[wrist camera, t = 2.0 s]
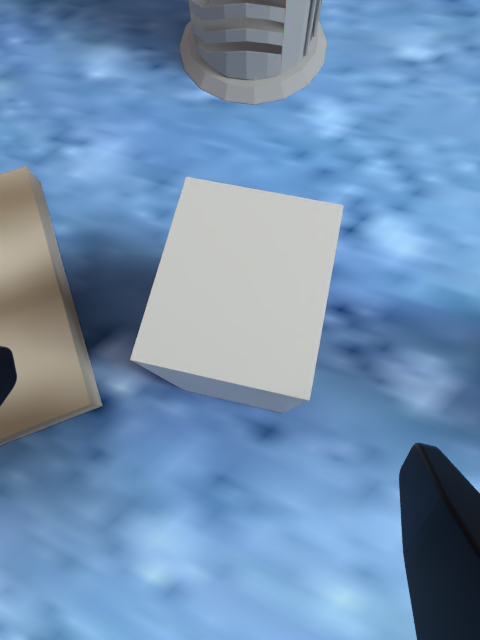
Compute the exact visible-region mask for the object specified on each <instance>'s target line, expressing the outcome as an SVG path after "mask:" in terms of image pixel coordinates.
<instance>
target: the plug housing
mask: <svg viewBox="0 0 480 640" xmlns="http://www.w3.org/2000/svg"><path fill="white" fill-rule="evenodd" d="M343 206H344V205H339V204H334V203H328V202H323V201H317V200H311V199H306V198H300V197H295V196H289V195H284V194H278V193H273V192H267V191H262V190H256V189H251V188H245V187H240V186H234V185H229V184H223V183H218V182H212V181H207V180H201V179H196V178H190V177H186V179H185V183H184V186H183V189H182V192H181V196H180V199H179V202H178V205H177V209H176V212H175V215H174V218H173V222H172V225H171V228H170V231H169V235H168V238H167V241H166V244H165V248H164V251H163V254H162V257H161V261H160V264H159V267H158V270H157V274H156V277H155V280H154V283H153V287H152V290H151V293H150V296H149V300H148V303H147V306H146V309H145V313H144V316H143V319H142V322H141V326H140V329H139V332H138V335H137V339H136V342H135V345H134V348H133V352H132V355H131V358H130V360H131V361H133V362H135V363H137V364H138V365H140V366H142V367H144V368H145V369H147V370H149V371H151V372H153V373H154V374H156V375H158V376H160V377H161V378H163V379H165V380H167V381H168V382H170V383H172V384H174V385H176V386H177V387H179V388H181V389H183V390H184V391H189V392H193V393H197V394H202V395H206V396H210V397H215V398H219V399H223V400H228V401H232V402H236V403H241V404H245V405H249V406H254V407H258V408H262V409H267V410H271V411H275V412H280V413H283V412H285V411H288V410H290V409H292V408H294V407H296V406H299V405H301V404H303V403H305V402H307V401H309V400H310V395H311V389H312V383H313V378H314V372H315V366H316V360H317V355H318V349H319V343H320V338H321V332H322V326H323V321H324V315H325V309H326V303H327V298H328V292H329V286H330V281H331V275H332V269H333V263H334V258H335V252H336V246H337V241H338V235H339V229H340V223H341V218H342V212H343Z"/></svg>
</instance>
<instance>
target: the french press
mask: <svg viewBox="0 0 480 640" xmlns="http://www.w3.org/2000/svg"><path fill="white" fill-rule="evenodd" d="M188 3H189V10H190V17H191V20H190V22H189V23H188V24H187V25H186V26H185V30H184V33H183V36H182V40H181V43H180V47H179V49H180V53H181V58H182V63H183V67H184V70H185V71H186V72H187V74H188V75H189V76H190V77H191V78H192V79H193V81H194V82H195V83H196V84H197V85H198V87H199V88H200V89H202V90H204V91H206V92H208V93H210V94H212V95H214V96H216V97H218V98H220V99H222V100H224V101H230V102H238V103H246V104H254V105H255V104H260V103H265V102H271V101H276V100H281V99H285V98H287V97H288V96H290V95H292V94H293V93H295V92H297V91H299V90H300V89H302V88H304V87H305V86H307V85H309V83H310V82H311V81H312V79H313V78H314V77H315V75H316V74H317V73H318V71H319V70H320V69H321V67H322V66H323V65H324V58H325V52H326V46H327V41H326V38H325V35H324V32H323V30H322V27H321V24H320V22H319V15H320V10H321V4H322V0H188Z"/></svg>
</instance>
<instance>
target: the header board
mask: <svg viewBox="0 0 480 640" xmlns="http://www.w3.org/2000/svg"><path fill="white" fill-rule="evenodd" d="M0 346H4V347H8V348H9V349H10V350H11V351H12V353H13V357H14V362H15V367H16V372H17V381H16V384H15V386H14V388H13V389H12V391H11V392H10V394H9V395H8V396H7V398H6V399H5V401H4V402H3V404H2V405H1V407H0V445H3V444H5V443H8V442H11V441H13V440H16V439H18V438H21V437H23V436H26V435H29V434H31V433H34V432H36V431H39V430H42V429H44V428H47V427H49V426H52V425H54V424H57V423H60V422H62V421H65V420H67V419H70V418H73V417H75V416H78V415H80V414H83V413H86V412H88V411H91V410H93V409H96V408H98V407H101V406H102V402H101V399H100V395H99V391H98V388H97V384H96V381H95V377H94V374H93V370H92V366H91V363H90V359H89V356H88V352H87V348H86V345H85V341H84V338H83V334H82V330H81V327H80V323H79V320H78V316H77V313H76V309H75V305H74V302H73V298H72V295H71V291H70V287H69V284H68V280H67V277H66V273H65V270H64V266H63V262H62V259H61V255H60V252H59V248H58V244H57V241H56V237H55V234H54V230H53V226H52V223H51V219H50V216H49V212H48V209H47V205H46V201H45V198H44V194H43V191H42V187H41V183H40V182H39V180H38V179H37V178H36V177H35V176H34V175H33V173H32V172H31V171H30V170H29V169H28V168H27V166H24V167H21V168H18V169H15V170H12V171H9V172H6V173H3V174H0Z"/></svg>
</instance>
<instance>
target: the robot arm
mask: <svg viewBox="0 0 480 640" xmlns="http://www.w3.org/2000/svg"><path fill="white" fill-rule="evenodd" d="M16 381H17V372H16V367H15V362H14V357H13V353H12V351H11V350H10V349H9V348H8V347H4V346H0V407H1V405H2V404H3V402H4V401H5V399H6V398H7V396H8V395H9V394H10V392H11V391H12V389H13V388H14V386H15V384H16ZM399 488H400V507H401V525H402V543H403V554H404V562H405V569H406V575H407V581H408V587H409V593H410V599H411V605H412V611H413V617H414V624H415V630H416V636H417V640H480V493H479V492H478V491H477V490H476V489H475V488H474V487H473V486H472V485H471V483H470V482H469V481H468V480H467V479H466V478H465V477H464V476H463V475H462V474H461V472H460V471H459V470H458V469H457V468H456V467H455V466H454V465H453V464H452V463H451V462H450V460H449V459H448V458H447V457H446V456H445V455H444V454H443V453H442V452H441V451H440V450H439V449H438V448H437V447H435V446H431V445H427V444H423V443H415V444H414V445H413V446H412V448H411V450H410V452H409V454H408V456H407V457H406V459H405V461H404V463H403V465H402V467H401V469H400V474H399Z"/></svg>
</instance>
